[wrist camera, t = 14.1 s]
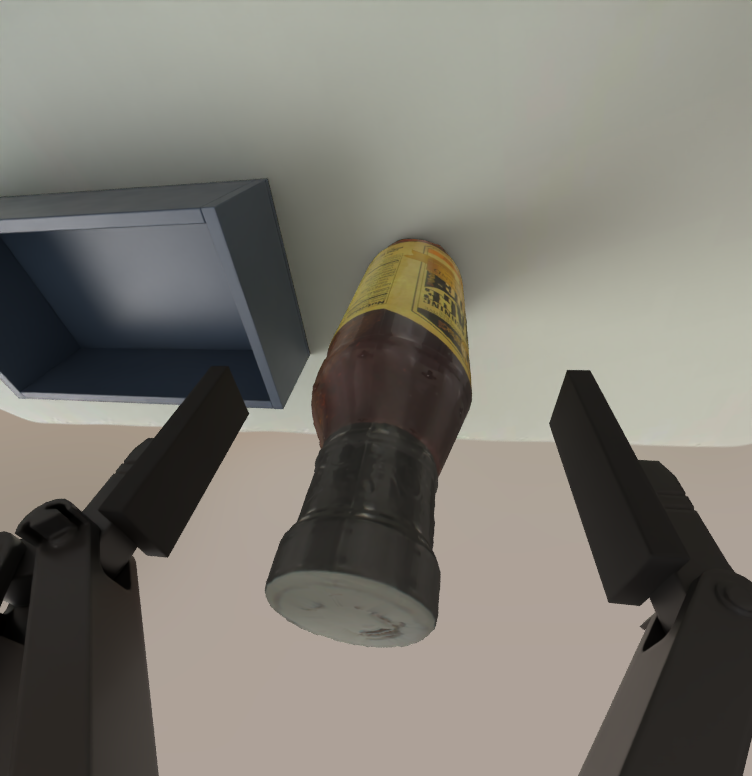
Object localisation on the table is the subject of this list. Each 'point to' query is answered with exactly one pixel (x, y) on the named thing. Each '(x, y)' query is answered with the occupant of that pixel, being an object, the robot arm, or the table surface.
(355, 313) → the sauce bottle
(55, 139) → the table surface
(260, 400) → the open storage box
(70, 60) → the table surface
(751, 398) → the table surface
